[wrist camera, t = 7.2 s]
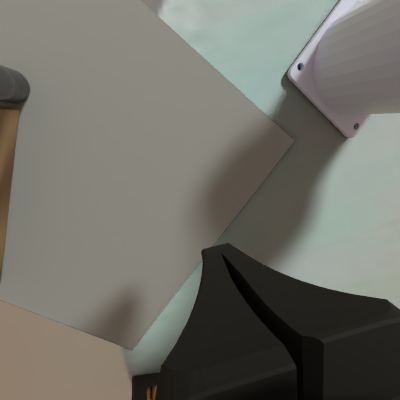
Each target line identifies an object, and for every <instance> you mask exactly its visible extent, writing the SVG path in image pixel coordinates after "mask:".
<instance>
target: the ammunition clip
mask: <svg viewBox="0 0 400 400" xmlns="http://www.w3.org/2000/svg"><path fill="white" fill-rule="evenodd" d="M159 374H160V372H159V373H152V374H144V375H137V376H133V377H132V400H151V399H152V400H155V394H156V389H157V383H158V379H159Z"/></svg>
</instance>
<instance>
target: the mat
mask: <svg viewBox="0 0 400 400" xmlns="http://www.w3.org/2000/svg"><path fill="white" fill-rule="evenodd" d="M0 65H2V66H5V67H8V68H10V69H13V70H16V71H18V72H20V73H21V74H22V75H23V76H24V77H25V78H26V79H27V81H28V83H29V86H30V95H29V97H28V98H27V100H26V101H24V102H22V103H19V104H13V103H5V102H0V105H1V106H5V107H8V108H12V109H15V110H19V117H18V126H17V135H16V144H15V153H14V162H13V171H12V181H11V190H10V199H9V208H8V217H7V226H6V235H5V245H4V254H3V263H2V272H1V281H0V300H1V301H3V302H6V303H9V304H12V305H14V306H17V307H19V308H22V309H25V310H28V311H30V312H33V313H35V314H38V315H41V316H43V317H46V318H48V319H51V320H54V321H56V322H59V323H62V324H64V325H67V326H70V327H72V328H75V329H78V330H80V331H83V332H86V333H88V334H91V335H94V336H96V337H99V338H102V339H104V340H107V341H109V342H112V343H115V344H117V345H120V346H123V347H125V348H128V349H131V350H132V349H133V348H134V347H135V345H136V344H137V343H138V342H139V340H140V339H141V338H142V336H143V335H144V334H145V333H146V331H147V330H148V329H149V327H150V326H151V325H152V324H153V322H154V321H155V320H156V318H157V317H158V316H159V315H160V313H161V312H162V311H163V309H164V308H165V307H166V306H167V304H168V303H169V302H170V300H171V299H172V298H173V297H174V295H175V294H176V293H177V291H178V290H179V289H180V288H181V286H182V285H183V284H184V282H185V281H186V280H187V279H188V277H189V276H190V275H191V273H192V272H193V271H194V270H195V268H196V267H197V266H198V265H199V263H200V262H201V261H202V255H201V251H202V250H203V249H205V248H209V247H213V245H214V244H215V243H216V241H217V240H218V239H219V238H220V236H221V235H222V234H223V232H224V231H225V230H226V229H227V227H228V226H229V225H230V223H231V222H232V221H233V220H234V218H235V217H236V216H237V214H238V213H239V212H240V211H241V209H242V208H243V207H244V205H245V204H246V203H247V202H248V200H249V199H250V198H251V196H252V195H253V194H254V193H255V191H256V190H257V189H258V187H259V186H260V185H261V184H262V182H263V181H264V180H265V178H266V177H267V176H268V175H269V173H270V172H271V171H272V169H273V168H274V167H275V166H276V164H277V163H278V162H279V160H280V159H281V158H282V157H283V155H284V154H285V153H286V151H287V150H288V149H289V148H290V146H291V145H292V144H293V142H294V141H295V140H293V139H292V138H291V137H290V136H289V135H288V134H287V133H286V132H285V131H284V130H282V129H281V128H280V127H279V126H278V125H277V124H276V123H275V122H274V121H273V120H271V119H270V118H269V117H268V116H267V115H266V114H265V113H264V112H263V111H262V110H260V109H259V108H258V107H257V106H256V105H255V104H254V103H253V102H252V101H251V100H249V99H248V98H247V97H246V96H245V95H244V94H243V93H242V92H241V91H240V90H238V89H237V88H236V87H235V86H234V85H233V84H232V83H231V82H230V81H229V80H227V79H226V78H225V77H224V76H223V75H222V74H221V73H220V72H219V71H218V70H216V69H215V68H214V67H213V66H212V65H211V64H210V63H209V62H208V61H207V60H205V59H204V58H203V57H202V56H201V55H200V54H199V53H198V52H197V51H196V50H194V49H193V48H192V47H191V46H190V45H189V44H188V43H187V42H186V41H185V40H183V39H182V38H181V37H180V36H179V35H178V34H177V33H176V32H175V31H174V30H172V29H171V28H170V27H169V26H168V25H167V24H166V23H165V22H164V21H163V20H162V19H160V18H159V17H158V16H157V15H156V14H155V13H154V12H153V11H152V10H151V9H149V8H148V7H147V6H146V5H145V4H144V3H143V2H142V1H141V0H0Z"/></svg>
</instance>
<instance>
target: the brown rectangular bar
mask: <svg viewBox="0 0 400 400" xmlns="http://www.w3.org/2000/svg"><path fill="white" fill-rule="evenodd" d="M18 117H19V110H15V109H12V108H8V107H5V106H1V105H0V281H1V272H2V263H3V254H4V245H5V235H6V226H7V217H8V208H9V199H10V190H11V181H12V171H13V162H14V153H15V144H16V135H17V126H18Z"/></svg>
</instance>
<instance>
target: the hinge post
mask: <svg viewBox="0 0 400 400" xmlns="http://www.w3.org/2000/svg"><path fill="white" fill-rule="evenodd" d="M29 95H30V86H29V83H28V81H27V79H26V78H25V77H24V76H23V75H22V74H21V73H20V72H18V71H16V70H13V69H10V68H8V67H5V66H2V65H0V102H5V103H13V104H19V103H22V102H24V101H26V100H27V98H28V97H29Z"/></svg>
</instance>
